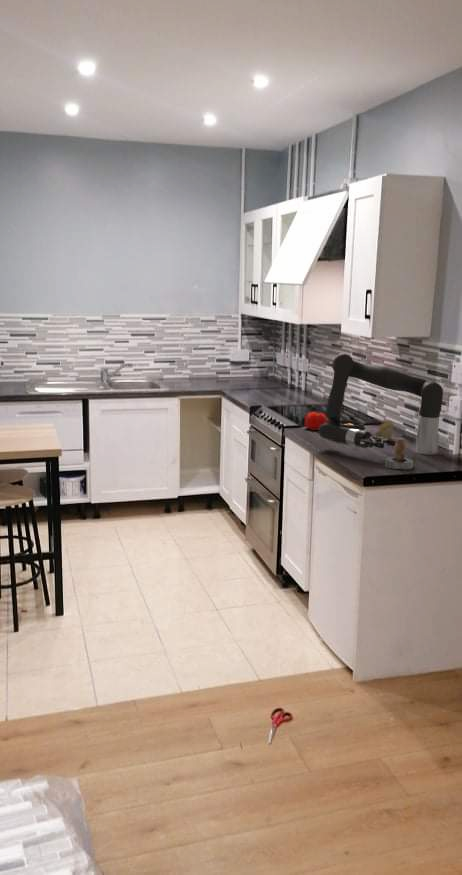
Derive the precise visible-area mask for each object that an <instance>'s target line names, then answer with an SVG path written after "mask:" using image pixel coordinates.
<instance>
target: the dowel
mask: <svg viewBox="0 0 462 875" xmlns="http://www.w3.org/2000/svg"><path fill="white" fill-rule="evenodd" d="M406 440H407V439H406V438H402V437H396V438H395V442H396V444H395V446H394V447H395V448H394V456H393V457H394V460H395V461H404V458H405V455H406V454H405V453H406V452H405V451H406Z"/></svg>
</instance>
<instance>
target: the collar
mask: <svg viewBox="0 0 462 875" xmlns="http://www.w3.org/2000/svg"><path fill="white" fill-rule="evenodd" d="M394 457H395V456H387V457H386V458H385V462H384V463H385V464H384V466H385V467H387V469H391V468H392V470H397V469H405V470H404V471H408V470H407V469H409V470H412V469H413V464H414V460H413V459H411V458H408V457H404V461H395V460H394ZM411 468H412V469H411Z"/></svg>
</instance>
